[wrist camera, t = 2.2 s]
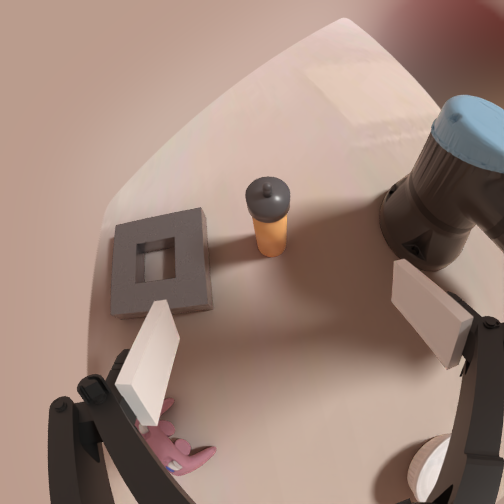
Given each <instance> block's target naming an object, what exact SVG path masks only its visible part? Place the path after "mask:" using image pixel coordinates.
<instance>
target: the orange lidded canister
mask: <svg viewBox="0 0 504 504" xmlns="http://www.w3.org/2000/svg"><path fill="white" fill-rule="evenodd" d="M245 196H246V202H247V207H248V211H249V213H250V215H251V216H252V218H253V224H254V229H255V235H256V240H257V245H258V249H259V251H260V252H261V253H262V254H263V255H265V256H268V257H276V256H278V255H280V254H281V253H283V251H284V250H285V248H286V231H287V213H288V211H289V208H290V190H289V188H288V186H287V185H286V183H285V182H283V181H282V180H280V179H278V178H275V177H262V178H259V179H256V180H255V181H253V182H252V183H251V184H250V185H249V186H248V188H247V190H246V195H245Z"/></svg>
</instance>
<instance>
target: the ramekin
mask: <svg viewBox="0 0 504 504" xmlns="http://www.w3.org/2000/svg"><path fill="white" fill-rule="evenodd" d="M451 434H452V433H451ZM451 434H443V435H439V436H437V437H434V438H433V439H431V440H430V441H428V442H427V443H426V444H424V445H423V446H422V447H421V448H420V449H419V451H418V452H417V453H416V454H415V456H414V458H413V459H412V461H411V463H410V466H409V470H408V475H407V480H408V484H409V487H410V488H411V490H412V492H413V493H414V496H415V498H416V500H417V501H418V502H426V500H427V498H428V496H429V494H430V493H431V491H432V490H433V488H434V486H435V484H436V482H437V479H438V476H439V473H440V471H441V468H442V465H443V462H444V458H445V455H446V452H447V448H448V445H449V441H450V437H451Z"/></svg>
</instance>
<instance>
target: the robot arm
mask: <svg viewBox="0 0 504 504" xmlns="http://www.w3.org/2000/svg"><path fill="white" fill-rule="evenodd" d="M431 128H432V129H431V133H430V135H429V137H428V139H427V141H426V143H425V145H424V148H423V150H422V152H421V154H420V156H419V158H418V159H417V161H416V163H415V165H414V167H413V169H412V171H411V173H409V174H408V175H407V176H405V177H404V178H402V179H401V180H400V181H398V182H397V183H396V184H394V185H393V186H392V187H391V188H390V189H389V191H388V192H387V194H386V196H385V198H384V200H383V202H382V204H381V208H380V215H379V216H380V226H381V229H382V232H383V235H384V237H385V239H386V241H387V243H388V245H389V246H390V248H391V249H392V250H393V251H394V252H395V254H396V255H397V256H398V257H399V258H401V260H396V261H394V267H393V285H392V298H391V302H392V303H393V304H394V305H395V306H396V308H397V309H398V310H399V311H400V312H401V313H402V315H403V316H404V317H405V318H406V319H407V321H408V322H409V323H410V324H411V325H412V327H413V328H414V329H415V330H416V331H417V333H418V334H419V335H420V336H421V338H422V339H423V340H424V341H425V343H426V344H427V345H428V346H429V348H430V349H431V350H432V351H433V353H434V354H435V355H436V356H437V358H438V359H439V360H440V362H441V363H442V364H443V366H444V367H445V368H446V370H448V369H450V368H452V367H454V366H457V365H459V362H460V359H461V356H462V355H463V356H464V358H465V359H466V361H465V364H464V366H463V369H462V371H461V374H460V376H461V377H462V374H463V377H462V384H461V390H460V396H459V402H458V407H457V412H456V417H455V421H454V425H453V430H452V434H451V437H450V441H449V445H448V448H447V452H446V455H445V458H444V462H443V465H442V468H441V471H440V473H439V476H438V479H437V482H436V484H435V486H434V488H433V490H432V491H431V493H430V494H429V496H428V498H427V500H426V502H415V503H411V501H410V498H409V499H407V500H404V501H402V502H399V503H397V504H495V502H496V498H497V494H498V491H499V486H500V482H501V478H502V473H503V468H504V459H503V458H501V457H499V450H500V444H501V436H502V427H503V416H504V323H500V322H499V320H497V319H496V318H494V317H490V316H485V317H481V316H480V315H479V314H478V313H477V312H476V311H475V310H473V309H472V308H471V307H470V306H469V305H467V303H465V302H464V301H462V299H461V298H460V297H458V296H457V295H456V294H453V293H451V292H449V291H447V292H445V291H444V290H442V289H441V288H440V287H439V286H438V285H436V284H435V283H434V282H433V281H432V280H430V279H429V278H428V277H427V276H426V275H424V274H423V273H422V272H421V271H419V270H418V269H420V270H425V271H436V270H440V269H443V268H445V267H446V266H448V265H449V264H450V263H452V262H453V261H454V260H455V259H456V258H457V257H458V256H459V255H460V253H461V252H462V250H463V248H464V245H465V243H466V240H467V238H468V236H469V233H470V231H471V229H472V228H473V227H474V226H475V225H477V226H478V227H479V228H480V229H481V230H482V231H484V233H485V234H486V235H487V236H488V237H489V238H490V239H491V240H492V241H493V242H494V243H495V244H496V245H497V246H498V247H499V248H500V250H501V251H502V252H503V253H504V110H503V109H501V108H500V107H498V106H497V105H495V104H493V103H491V102H489V101H487V100H485V99H481V98H479V97H475V96H469V95H458V96H454V97H452V98H450V99H449V100H448V101H447V102H446V103H445V104H444V106H443V108H442V110H441V112H440V114H439V116H438V117H437V118H436V119H435V120H434V122H433V124H432V126H431ZM179 341H180V337H179V334H178V331H177V329H176V326H175V323H174V320H173V317H172V314H171V311H170V308H169V305H168V302H167V300H160V301H154V303H153V305H152V307H151V309H150V311H149V313H148V315H147V317H146V319H145V321H144V323H143V325H142V327H141V329H140V331H139V333H138V335H137V337H136V339H135V341H134V343H133V345H132V347H131V349H124V350H123V351H122V352H121V353H120V354H119V355H118V356H117V358H116V360H115V362H114V364H113V366H112V368H111V369H112V370H110V373H109V375H108V377H107V379H106V381H105V380H104V378H103V377H102V376H101V375H98V374H92V375H89V376H87V377H85V378H84V379H82V380H81V381H80V383H79V384H78V387H77V391H78V393H79V394H80V396H81V397H82V399H83V400H84V401H85V402H80V403H74V402H73V401H72V400H71V399H70V398H69V397H66V396H64V397H59V398H57V399H56V400H54V401H53V403H52V404H51V405H50V409H49V423H48V475H49V490H50V500H51V504H115V503H114V499H113V495H112V491H111V487H110V483H109V479H108V474H107V470H106V465H105V460H104V454H103V448H102V442H104V444H105V446H106V448H107V450H108V452H109V454H110V456H111V458H112V460H113V462H114V464H115V466H116V467H117V469H118V471H119V473H120V475H121V476H122V478H123V480H124V481H125V483H126V485H127V486H128V488H129V490H130V491H131V493H132V494H133V496H134V497H135V499H136V501H137V502H138V504H196V503H195V502H194V501H193V500H192V499H191V498H190V497H189V495H188V494H187V493H186V492H185V491H184V490H183V489H182V487H181V486H180V485H179V484H178V483H177V481H176V480H175V479H174V478H173V477H172V475H171V474H170V473H169V472H168V470H167V469H166V468H165V467H164V465H163V464H162V463H161V461H160V460H159V459H158V457H157V456H156V455H155V453H154V452H153V450H152V449H151V448H150V446H149V445H148V443H147V442H146V441H145V439H144V438H143V436H142V435H141V433H140V432H139V430H138V429H137V427H136V426H135V422H136V419H138V420H139V422H140V423H141V425H144V426H157V425H158V421H159V417H160V413H161V409H162V405H163V401H164V397H165V393H166V389H167V385H168V381H169V377H170V374H171V370H172V366H173V362H174V359H175V355H176V352H177V348H178V344H179Z"/></svg>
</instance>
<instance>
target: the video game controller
mask: <svg viewBox="0 0 504 504" xmlns="http://www.w3.org/2000/svg"><path fill="white" fill-rule="evenodd" d="M173 403H174V399H173V398H167V399H164V401H163V405H162V409H161V413H160V416H161V415H162V414H163V413H164V412H165V411H166V410H168V409H169V408H170V407H171V406H172V405H173ZM159 418H160V417H159ZM135 426H136V427H137V429H138V430H139V432H140V433H141V435H142V436H143V438H144V439H145V441H146V442H147V443H148V445H149V446H150V448H151V449H152V450H153V452H154V453H155V455H156V456H157V457H158V459H159V460H160V461H161V463H162V464H163V465H164V467H165V468H166V469H167V470H168V471H169V472H170V473H171V474H173V475H176V476H181V475H184V474H187V473H190V472H192V471H194V470H196V469H197V468H199V467H200V466H202V465H203V464H204V463H205V462H206V461H207V460H209V459H210V458H211V457H212V456H213V455H214V454H215V452H216V447H209V448H207V449H204V450H202V451H200V452H198V453H196V454H195V455H192V456H189V454H190V450H191V446H190V444H189V443H188V442H187V441H186V440H184V439H178V440H177V441H175V442H174V443H172V441H171V440H170V439H169V438H168V437H169V436H171V435H173V434H174V433H175V428H174V426H173V424H172V423H171V422H169V421H165V420H159V421H158V425H157V426H144V425H141V423H140V422H139V420H138V419H136V422H135Z"/></svg>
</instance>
